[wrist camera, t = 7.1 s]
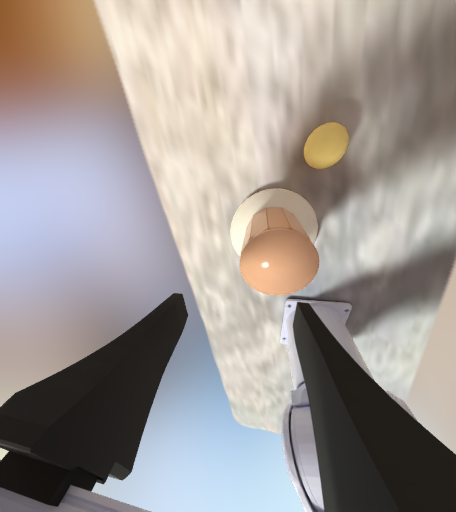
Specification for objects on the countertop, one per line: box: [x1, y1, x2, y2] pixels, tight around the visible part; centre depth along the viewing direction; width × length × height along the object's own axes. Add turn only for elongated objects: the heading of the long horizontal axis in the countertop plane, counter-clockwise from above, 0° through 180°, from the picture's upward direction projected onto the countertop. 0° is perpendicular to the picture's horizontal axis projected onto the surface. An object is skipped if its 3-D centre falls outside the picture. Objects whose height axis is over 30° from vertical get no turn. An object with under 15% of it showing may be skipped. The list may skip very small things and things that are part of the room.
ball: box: [304, 122, 349, 169], centre depth 13 cm, size 3×3×3 cm
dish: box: [231, 188, 318, 257], centre depth 18 cm, size 9×9×1 cm
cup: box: [240, 207, 319, 295], centre depth 15 cm, size 6×6×7 cm
